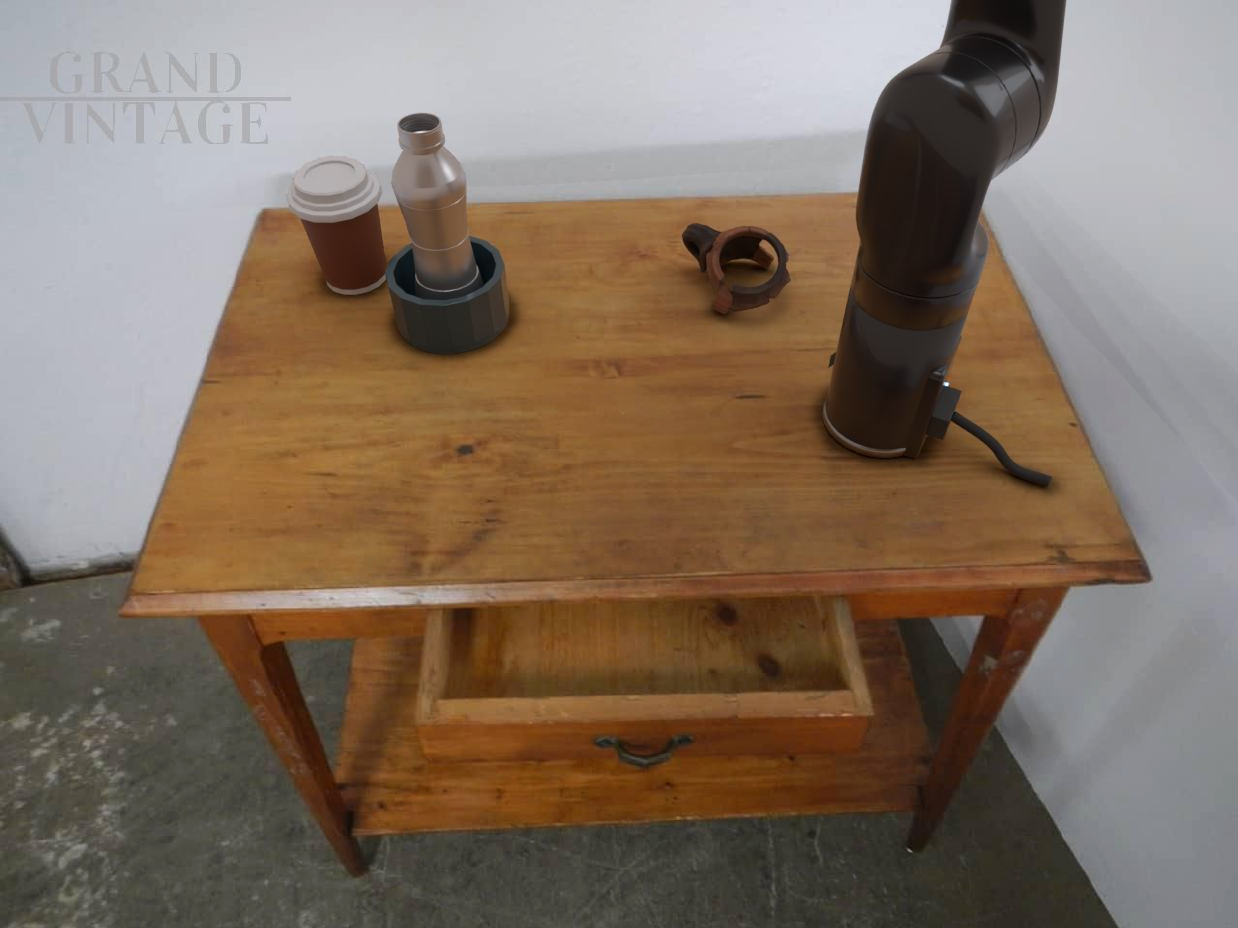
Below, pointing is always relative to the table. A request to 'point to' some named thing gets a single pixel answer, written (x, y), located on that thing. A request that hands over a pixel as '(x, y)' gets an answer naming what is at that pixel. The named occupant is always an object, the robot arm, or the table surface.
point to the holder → (450, 305)
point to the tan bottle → (434, 210)
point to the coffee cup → (341, 221)
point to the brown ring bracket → (731, 246)
